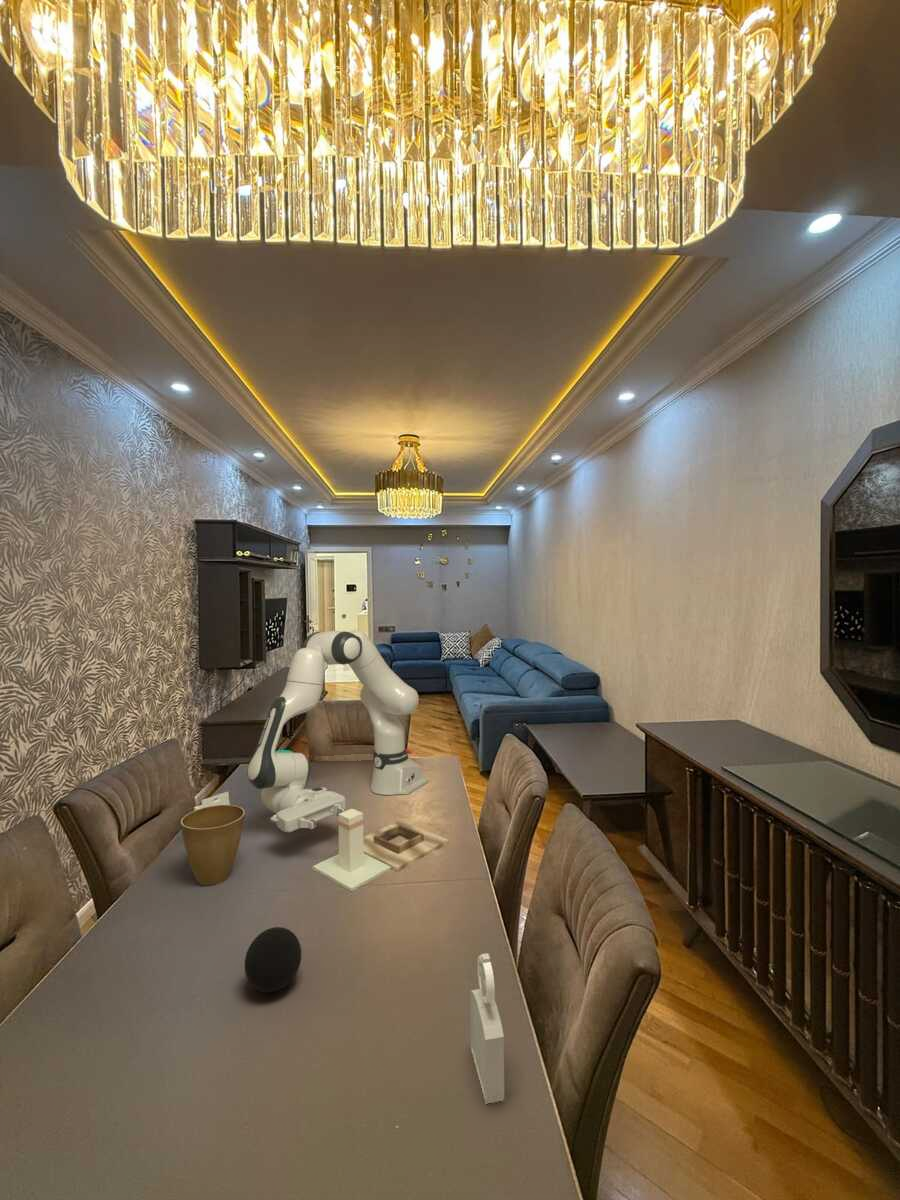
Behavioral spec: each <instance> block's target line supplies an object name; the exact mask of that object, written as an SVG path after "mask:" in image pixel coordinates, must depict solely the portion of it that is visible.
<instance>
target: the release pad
mask: <svg viewBox="0 0 900 1200" xmlns="http://www.w3.org/2000/svg"><path fill="white" fill-rule="evenodd" d="M312 870H314V871H315V872H317V873H318V874H319V875H321V876H323V877H325V878H327V879H329V880H330V881H332V882H333V883H336V884H337V885H339V886H340V887H343V888H344V889H346V890H347V891H349V890H350V892H351V891H352V892H354V891H355V890H357V889H359V888H361V887H363V886H364V885H366V884H368V883H370V882H371V881H373V880H376V879H377V878H378V877H381V876H382V875H384V874H386V873H388V872H390V871H391V870H392V869H391V867H390V866H388V865H386V864H384V863H382V862H380V861H378V860H376V859H374V858H372V857H370V856H368V855H366V854H364V866H363V867H361V868H359V869H357V870H355V871H353V872H351V873H349V872H347V871H345V870H343V869H342V868H340V867H339V853H337V854H335V855H333V856H331V857H329V858H327V859H324V860H323V861H321V862H318V863H316V864H315V865H312ZM362 885H363V886H362ZM360 886H361V887H360ZM358 887H359V888H358ZM353 890H354V891H353Z"/></svg>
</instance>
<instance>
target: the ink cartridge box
mask: <svg viewBox="0 0 900 1200" xmlns="http://www.w3.org/2000/svg"><path fill="white" fill-rule="evenodd" d="M215 805H231V801H230V795H229V791H225V792H222V793H218V794H216V795H213V796H210V797H207V798H204V799H202V800H201V805H198V806H194V807H193V811H195V810H198V809H201V808H205V807H209V806H215Z"/></svg>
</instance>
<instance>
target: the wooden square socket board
mask: <svg viewBox="0 0 900 1200" xmlns="http://www.w3.org/2000/svg"><path fill="white" fill-rule="evenodd" d="M397 837H402V838H404V839H407V841H405V842H403V843H401V844H399V845H397V844H395V843H393V842H391V840H393V839H395V838H397ZM447 844H449V839H448V838H446V837H443V836H441V835H438V834H435V833H433V832H431V831H429V830H428V831H427V830H425V829H423V828H420V827H418V826H416V825H413V824H411V823H408V822H405V821H403V820H401V819H400V820H397V821H395V822H393V823H391V824H389V825H387V826H385V827H383V828H380V829H378V830H375V831H373V832H372V833H369V834H367V835H365V836H363V850H364V854H366V855H368V856H370V857H372V858H374V859H376V860H378V861H380V862H382V863H384V864H386V865H388V866H390V867H391V870H394V871H395V872H400V871H402V870H403V869H405V868H407V867H409V866H410V865H412V864H413V863H416V862H417V861H419V860H421V859H423V858H424V857H426V856H428V855H430V854H431V853H433V852H435V851H437V850H439V849H440V848H443V847H444V846H446V845H447Z"/></svg>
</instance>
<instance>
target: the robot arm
mask: <svg viewBox="0 0 900 1200" xmlns="http://www.w3.org/2000/svg"><path fill="white" fill-rule="evenodd" d="M329 665H330V666H331V665H349V667H350V669H351V670H352V671H353V673H354V675H355V676H356V678H357V680H358V682H360V683H361V685H363V686H362V688H361V690H360V695H359V696H360V701H361V703H362V704H363V705H364V707H365V708H366V710H367V712H368V713H369V717H370V720H371V724H372V727H373V739H374V740H373V741H374V743H373V744H374V745H373V747H374V749H373V753H372V754H373V755H372V756H373V772H372V779H371V784H370V785H371V786H370V791H371V792H373V793H374V794H377V795H383V796H384V795H385V796H392V795H409V794H411V793H412V792H414V791H415V790H417V789H419V788H420V787H423V785H426V783H428V782H429V778H428V777H427V776H425V775H423V771H422V767H421V765H420V764H419V763H417V762H416V761H414V760H413V759H412V758H410V757H409V755H413V753H414V749H413V748H410V747H408V748H407V747H405V745H406V744H405V740H406V739H405V738H406V737H405V728H404V725H403V724H402V723H401V721H400V720H399V719H398V717H397V716H406V715H411V714H413V713H415V711H416V710H417V708H418V706H419V699H420V698H419V697H420V696H419V694H418V692H417V690H416V689H415V688H413V687H411V686H410V685H409V684H407V683H406V682H405V681H403V679H402V678H400V676H398V675H397V674H396V673H395V671H393V670H392V668H390V667H389V665H388V664H387V663H386V661H385V659H384V658H383V657H382V655H381V653H380V651H379V650H378V648H377V647H376V645H375V644H374V643H373V641H372V640H371V639H370V638H369V637H368V636H367V634H365V633H364V632H363V631H362V630H359V629H353V630H350V631H345V630H344V631H341V630H340V631H339V630H328V631H327V630H326V631H315V632H313V633H310V634H309V635H308V636H307V637H306V638H305V640H304V641H303V644H302V647H301V648H300V649H298V650H297V651H296V652H295V653H294V655H293V658H292V660H291V663H290V666H289V670H288V673H287V678H286V683H285V686H284V689H283V691H282V693H281V694H280V696H279V697H277V698H276V699H274V700H273V701H272V704H271V706H270V708H269V710H268V713H267V716H266V719H265V720H264V721H265V722H264V724H263V728H262V730H261V733H260V736H259V739H258V742H257V744H256V748H255V750H254V753H253V754H252V756H251V758H250V761H249V763H248V765H247V769H246V776H247V778H248V781H249V782H250V784H251V785H252V786H254V787H255V788H256V789H258V790H261V791H260V792H261V793H260V798H261V800H262V804H263V805H264V806H265V807H266V809H268V810H270V811H271V812H273V813H274V814H272V816H271V817H270V822H272V823H274V824H276V826H277V828H278V829H280V830H281V831H282V832H284V833H291V832H292V833H293V832H294V831H296V830H299V829H309V830H313V829H315V828H317V822H319V821H321V820H324V819H325V818H328V817H331V816H333V815H336V817H338V814H340V813H342V812H345V811H346V810H345V809H346V808H347V805H346V803H347V801H346V797H345V795H342V794H340V793H337V792H335V791H331V790H328V789H327V787H325V786H324V787H315V788H306V787H307V784H308V782H309V779H310V775H311V764H310V762H309V760H308V758H307V756H306V755H305V754H304V753H302V752H294V753H275V751H276V749H277V745H278V743H279V740H280V736H281V733H282V730H283V728H284V725H286V723H287V722H288V721H289V720H291V719H293V718H294V717H295V716H296V717H297V716H298V715H302V714H304V713H308V712H309V711H311V710H312V709H313V708H315V707H316V706H317V705H318V704H319V702H320V699H321V697H322V693H323V685H324V679H325V671H326V669H327V667H328V666H329ZM408 754H409V755H408Z"/></svg>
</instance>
